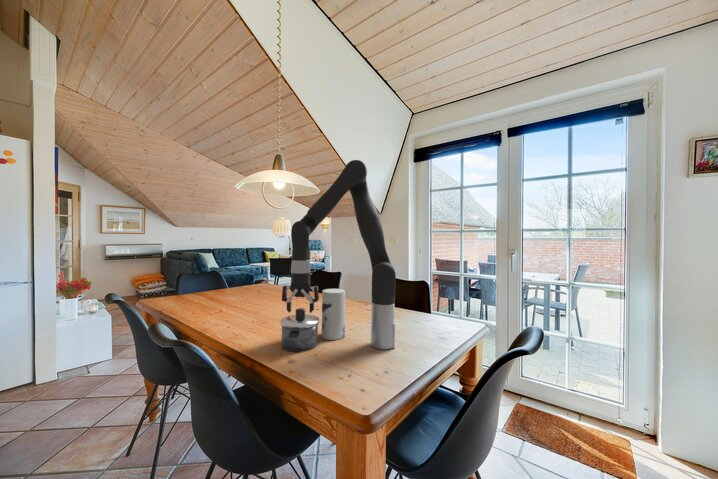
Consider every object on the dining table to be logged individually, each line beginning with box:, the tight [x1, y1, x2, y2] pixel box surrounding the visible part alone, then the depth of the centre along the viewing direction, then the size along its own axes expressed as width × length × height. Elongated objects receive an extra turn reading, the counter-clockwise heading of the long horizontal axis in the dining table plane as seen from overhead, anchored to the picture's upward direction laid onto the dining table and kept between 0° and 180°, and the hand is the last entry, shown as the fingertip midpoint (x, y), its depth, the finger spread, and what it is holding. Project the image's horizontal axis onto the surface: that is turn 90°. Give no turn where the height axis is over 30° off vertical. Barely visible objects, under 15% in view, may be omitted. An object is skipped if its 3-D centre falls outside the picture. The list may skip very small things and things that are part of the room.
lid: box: [280, 307, 320, 329], centre depth 111 cm, size 15×15×5 cm
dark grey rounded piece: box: [281, 324, 319, 353], centre depth 111 cm, size 21×14×9 cm, turn 178°
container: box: [321, 288, 346, 341], centre depth 122 cm, size 10×10×20 cm
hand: (300, 312), depth 111 cm, fingers open, 8 cm apart
